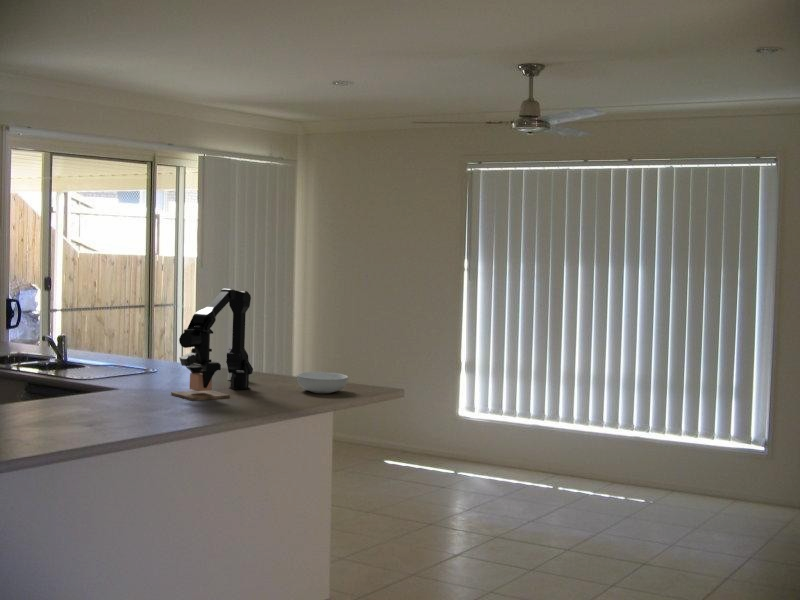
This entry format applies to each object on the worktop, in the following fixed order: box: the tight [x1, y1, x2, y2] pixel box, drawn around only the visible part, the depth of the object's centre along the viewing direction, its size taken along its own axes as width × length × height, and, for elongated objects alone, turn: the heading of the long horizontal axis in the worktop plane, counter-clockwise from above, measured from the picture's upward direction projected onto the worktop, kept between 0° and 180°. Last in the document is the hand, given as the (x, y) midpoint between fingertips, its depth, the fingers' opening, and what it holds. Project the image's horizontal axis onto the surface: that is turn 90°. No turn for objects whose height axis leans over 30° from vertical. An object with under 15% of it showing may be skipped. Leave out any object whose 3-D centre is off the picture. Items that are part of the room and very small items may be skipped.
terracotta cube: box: [189, 373, 213, 391], centre depth 357 cm, size 6×6×6 cm
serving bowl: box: [296, 371, 349, 394], centre depth 381 cm, size 21×21×7 cm
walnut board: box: [170, 389, 231, 402], centre depth 357 cm, size 16×16×1 cm
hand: (200, 386), depth 357 cm, fingers closed on terracotta cube, 6 cm apart
